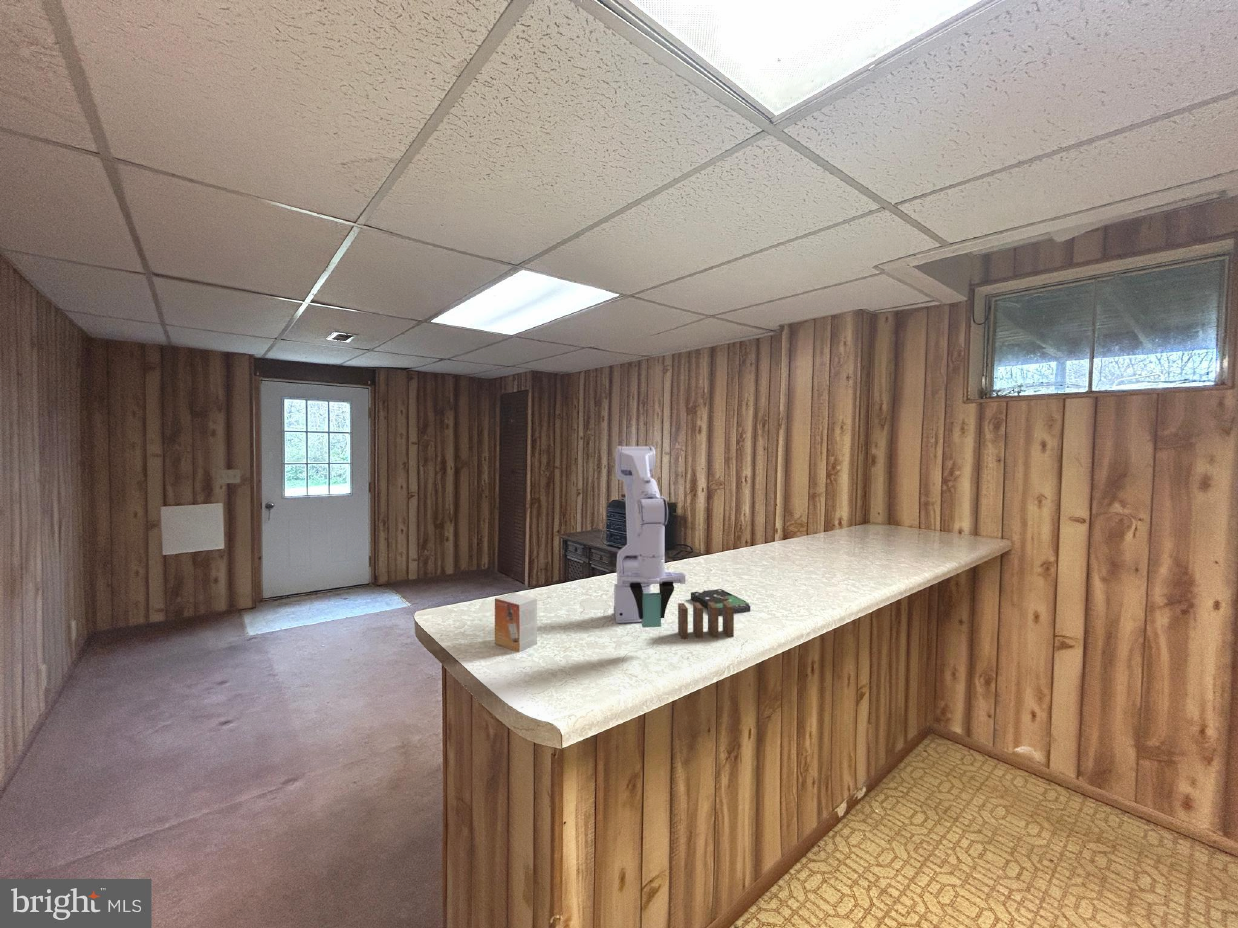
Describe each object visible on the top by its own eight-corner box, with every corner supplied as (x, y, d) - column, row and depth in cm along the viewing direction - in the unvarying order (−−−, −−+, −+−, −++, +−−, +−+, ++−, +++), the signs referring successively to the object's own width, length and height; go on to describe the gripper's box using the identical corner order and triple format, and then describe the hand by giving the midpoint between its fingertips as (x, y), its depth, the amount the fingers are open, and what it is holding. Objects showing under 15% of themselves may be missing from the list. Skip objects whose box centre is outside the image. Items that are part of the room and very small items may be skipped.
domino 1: (681, 638, 114) (681, 608, 113) (678, 632, 118) (678, 603, 117) (687, 638, 114) (687, 608, 114) (683, 632, 118) (683, 602, 118)
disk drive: (689, 601, 142) (718, 618, 128) (689, 592, 142) (718, 607, 128) (720, 597, 146) (751, 612, 132) (720, 588, 146) (751, 602, 132)
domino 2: (697, 638, 114) (697, 608, 114) (693, 631, 118) (693, 602, 118) (703, 638, 114) (703, 607, 114) (698, 631, 118) (698, 602, 118)
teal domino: (661, 626, 106) (661, 594, 106) (642, 627, 106) (642, 595, 106) (659, 624, 108) (659, 592, 107) (641, 625, 107) (641, 593, 107)
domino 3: (712, 637, 114) (712, 607, 114) (707, 631, 118) (707, 602, 118) (718, 637, 115) (718, 607, 114) (713, 630, 119) (713, 601, 118)
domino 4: (727, 636, 115) (727, 607, 114) (722, 630, 119) (722, 601, 118) (733, 636, 115) (733, 606, 115) (728, 630, 119) (728, 601, 119)
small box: (494, 644, 111) (493, 597, 111) (512, 636, 116) (512, 591, 115) (519, 652, 107) (518, 604, 106) (537, 644, 111) (537, 597, 111)
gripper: (619, 559, 102) (619, 625, 102) (688, 557, 103) (688, 622, 103) (616, 552, 109) (616, 613, 109) (681, 550, 110) (681, 610, 111)
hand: (651, 617), depth 107 cm, fingers closed on teal domino, 4 cm apart
